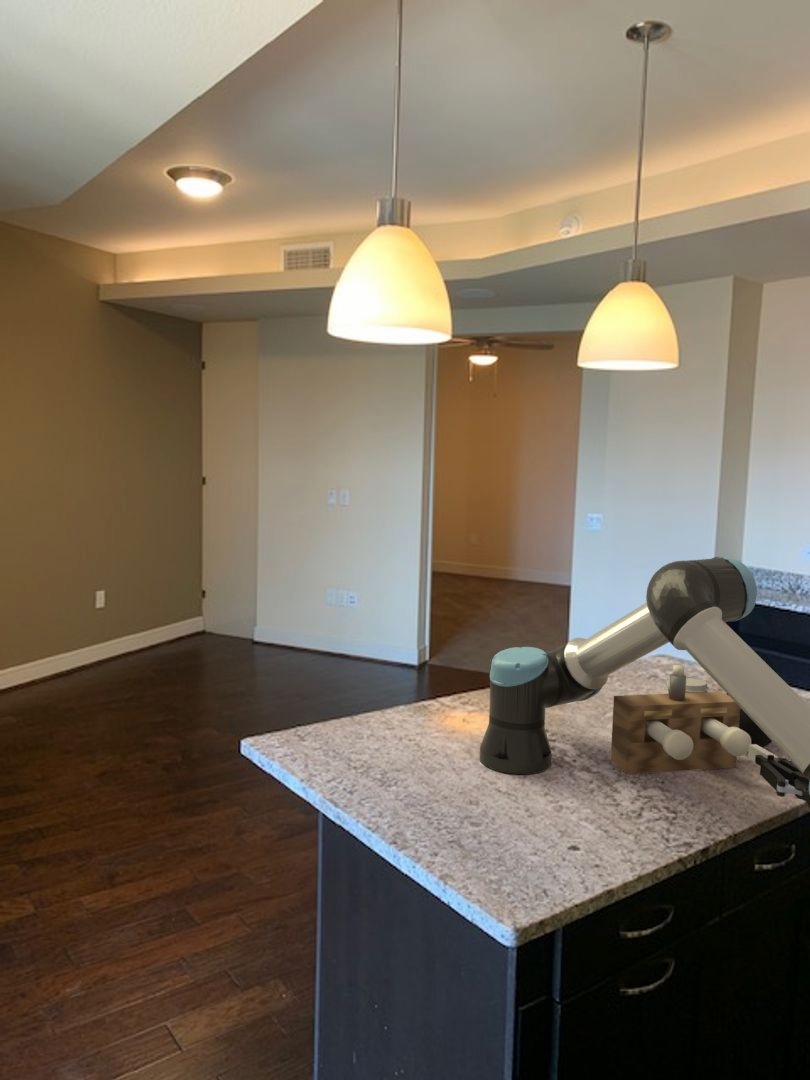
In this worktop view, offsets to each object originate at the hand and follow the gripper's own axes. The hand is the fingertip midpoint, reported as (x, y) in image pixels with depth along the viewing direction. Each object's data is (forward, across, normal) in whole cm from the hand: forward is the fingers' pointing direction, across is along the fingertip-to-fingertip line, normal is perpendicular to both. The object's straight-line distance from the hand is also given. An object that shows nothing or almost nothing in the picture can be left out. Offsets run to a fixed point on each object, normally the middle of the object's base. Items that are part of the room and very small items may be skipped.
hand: (752, 751), depth 148 cm
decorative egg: (+23, +16, -9) cm, 30 cm away
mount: (+17, -6, -9) cm, 20 cm away
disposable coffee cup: (+36, +8, -9) cm, 38 cm away
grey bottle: (+17, -6, +5) cm, 19 cm away
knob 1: (+12, -13, -3) cm, 17 cm away
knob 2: (+12, 0, -3) cm, 12 cm away
